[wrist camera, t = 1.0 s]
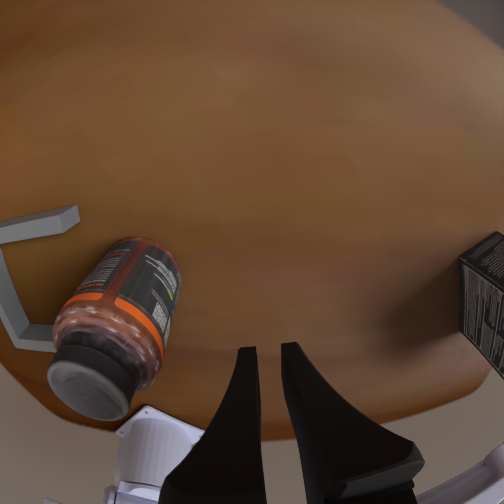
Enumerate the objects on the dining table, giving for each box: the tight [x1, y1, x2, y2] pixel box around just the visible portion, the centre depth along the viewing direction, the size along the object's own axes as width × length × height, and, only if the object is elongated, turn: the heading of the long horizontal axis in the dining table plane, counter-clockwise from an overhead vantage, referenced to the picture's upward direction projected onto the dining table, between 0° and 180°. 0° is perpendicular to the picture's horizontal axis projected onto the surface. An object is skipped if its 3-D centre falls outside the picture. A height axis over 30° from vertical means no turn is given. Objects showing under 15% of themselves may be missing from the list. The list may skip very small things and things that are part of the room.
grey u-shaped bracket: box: [0, 205, 80, 352], centre depth 18 cm, size 11×11×2 cm
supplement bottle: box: [47, 237, 181, 421], centre depth 15 cm, size 6×6×11 cm
